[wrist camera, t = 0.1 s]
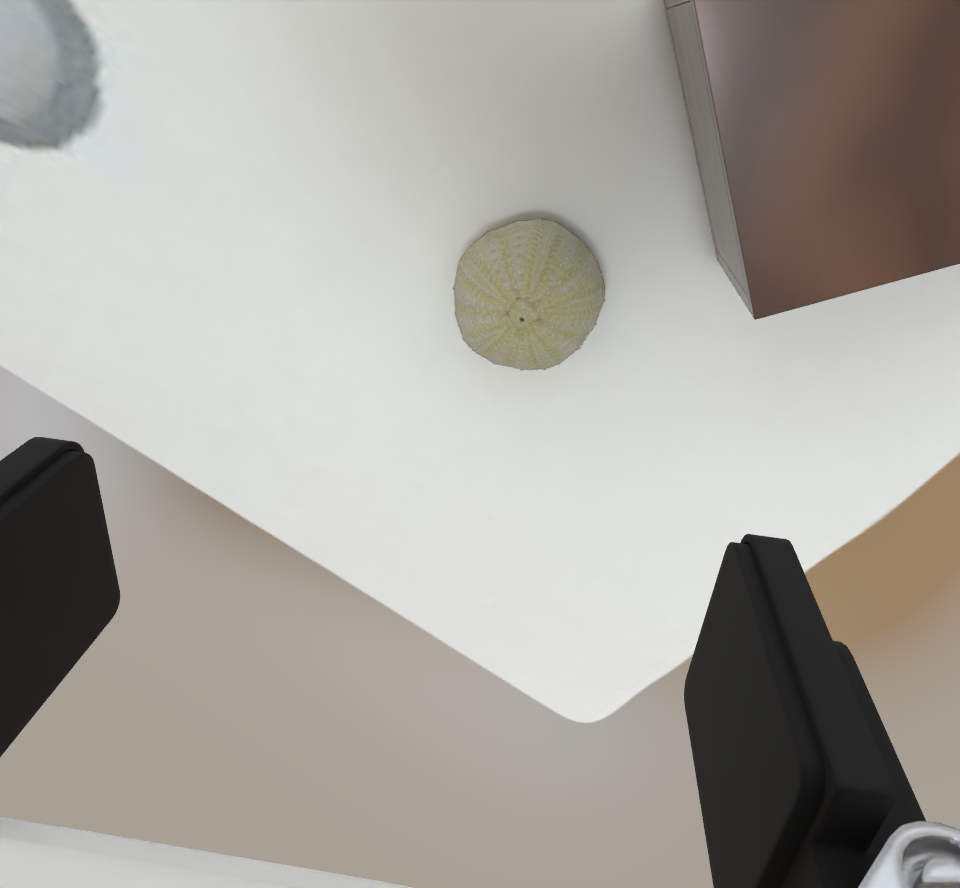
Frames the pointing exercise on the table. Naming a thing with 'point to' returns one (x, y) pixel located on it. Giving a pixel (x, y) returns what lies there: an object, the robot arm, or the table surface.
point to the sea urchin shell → (527, 294)
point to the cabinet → (823, 140)
